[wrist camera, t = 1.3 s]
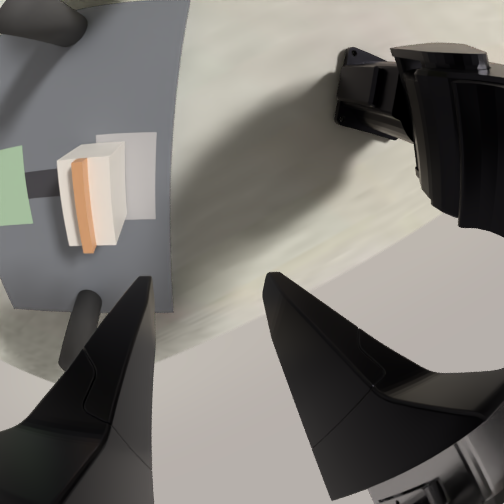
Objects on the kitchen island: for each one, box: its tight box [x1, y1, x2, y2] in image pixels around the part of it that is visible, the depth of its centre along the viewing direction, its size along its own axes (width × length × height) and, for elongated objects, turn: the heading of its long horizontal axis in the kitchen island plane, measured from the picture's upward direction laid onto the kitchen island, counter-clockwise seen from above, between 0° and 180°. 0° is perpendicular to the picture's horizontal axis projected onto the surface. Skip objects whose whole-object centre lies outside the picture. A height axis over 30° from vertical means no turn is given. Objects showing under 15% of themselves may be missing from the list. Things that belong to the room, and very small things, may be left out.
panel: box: [0, 0, 190, 313], centre depth 15 cm, size 17×24×1 cm
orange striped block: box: [57, 141, 127, 253], centre depth 14 cm, size 3×5×5 cm, turn 172°
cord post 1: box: [0, 0, 87, 47], centre depth 6 cm, size 2×2×7 cm
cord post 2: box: [59, 290, 102, 371], centre depth 18 cm, size 2×2×7 cm
